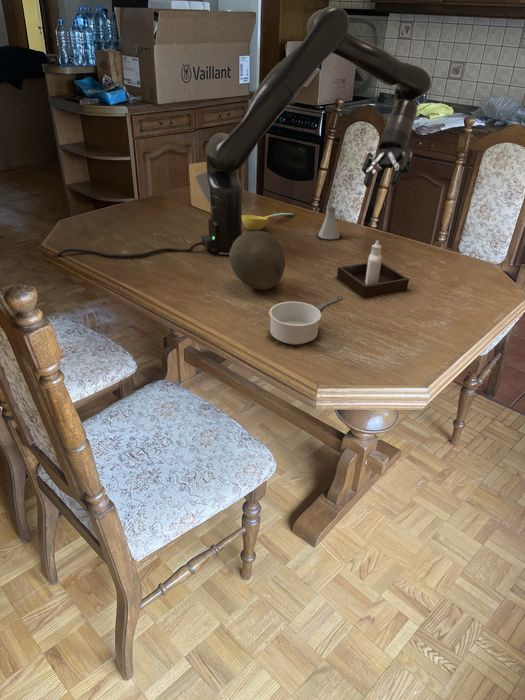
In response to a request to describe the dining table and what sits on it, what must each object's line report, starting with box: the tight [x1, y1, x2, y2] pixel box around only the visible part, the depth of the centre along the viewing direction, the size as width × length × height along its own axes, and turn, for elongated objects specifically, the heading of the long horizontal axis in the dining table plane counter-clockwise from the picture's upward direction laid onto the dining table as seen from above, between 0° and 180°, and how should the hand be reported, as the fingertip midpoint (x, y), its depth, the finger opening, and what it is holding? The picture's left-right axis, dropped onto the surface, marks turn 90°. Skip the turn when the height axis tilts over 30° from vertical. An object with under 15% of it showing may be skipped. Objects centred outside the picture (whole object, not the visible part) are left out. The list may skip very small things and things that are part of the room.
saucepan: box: [268, 296, 344, 345], centre depth 122 cm, size 12×20×6 cm, turn 127°
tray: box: [336, 261, 410, 299], centre depth 145 cm, size 14×14×3 cm
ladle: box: [242, 212, 294, 231], centre depth 186 cm, size 9×26×6 cm, turn 143°
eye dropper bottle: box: [365, 240, 383, 285], centre depth 143 cm, size 4×6×12 cm
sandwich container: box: [188, 161, 210, 213], centre depth 197 cm, size 9×15×15 cm, turn 42°
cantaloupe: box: [228, 230, 286, 291], centre depth 138 cm, size 14×14×15 cm
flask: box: [317, 204, 341, 240], centre depth 175 cm, size 7×7×10 cm
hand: (379, 185), depth 153 cm, fingers open, 8 cm apart
